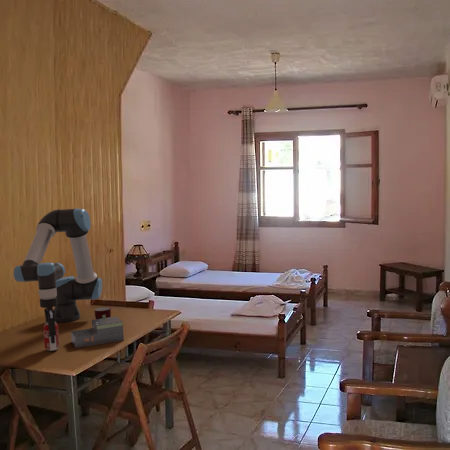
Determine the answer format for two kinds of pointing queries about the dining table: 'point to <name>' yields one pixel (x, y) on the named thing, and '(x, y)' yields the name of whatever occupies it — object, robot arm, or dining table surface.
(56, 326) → the beverage can
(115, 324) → the stand
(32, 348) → the dining table surface
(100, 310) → the mug
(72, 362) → the dining table surface
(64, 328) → the dining table surface
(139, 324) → the dining table surface
